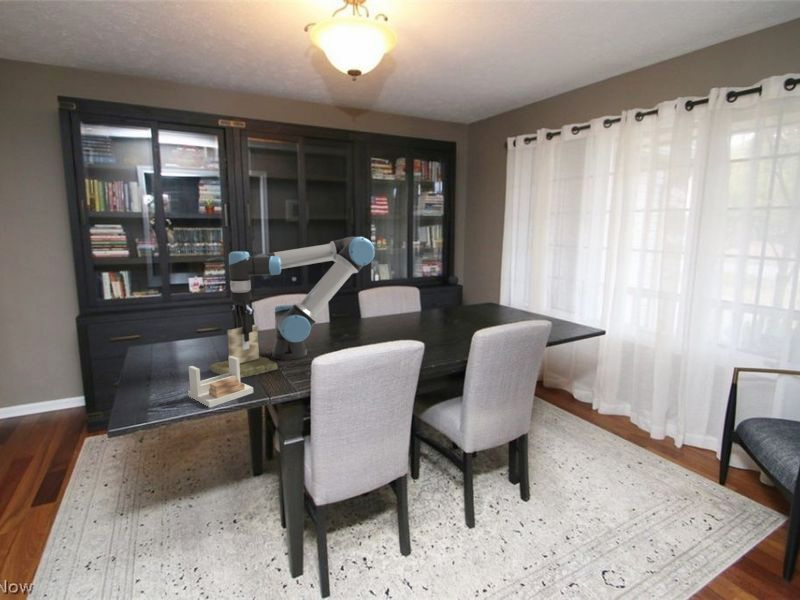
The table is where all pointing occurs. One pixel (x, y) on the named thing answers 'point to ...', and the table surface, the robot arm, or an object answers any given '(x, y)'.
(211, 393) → the offcut lower
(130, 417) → the table surface
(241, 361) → the birch board
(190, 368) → the board rack
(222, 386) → the offcut upper
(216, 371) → the decorative tile
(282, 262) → the robot arm
